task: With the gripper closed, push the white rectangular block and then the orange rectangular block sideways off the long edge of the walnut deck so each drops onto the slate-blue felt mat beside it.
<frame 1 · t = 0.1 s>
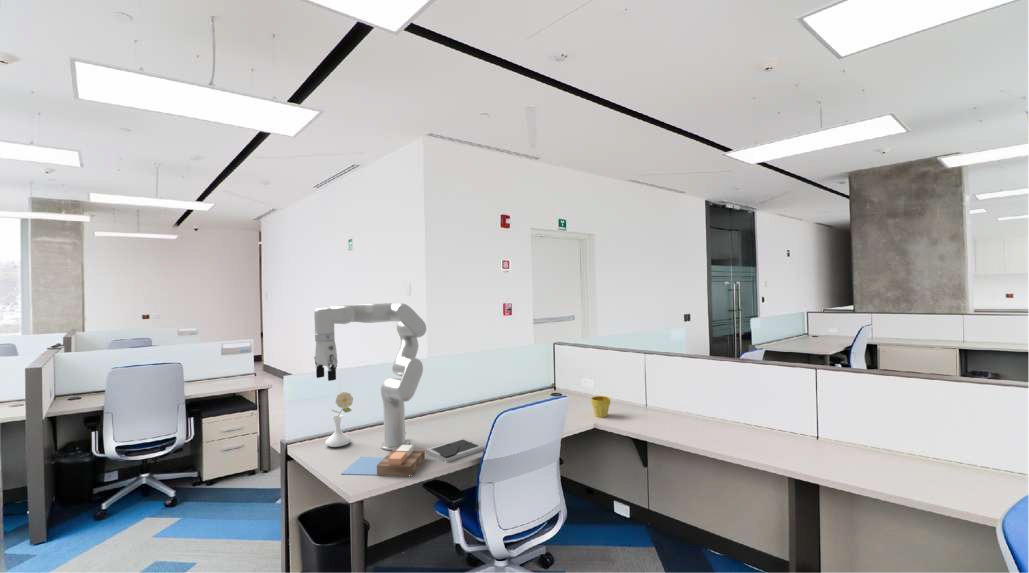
hand: (326, 378, 199), 37 cm above the table, tool pointing down, fingers open, 9 cm apart
mat: (368, 465, 201), on the table
orange rectangular block: (397, 458, 195), point 5 cm above the table, touching deck
white rectangular block: (404, 450, 203), point 5 cm above the table, touching deck
picture frame: (455, 452, 216), on the table
flower in vase: (340, 445, 228), on the table
plant pot: (600, 416, 265), on the table
deck: (401, 466, 199), on the table
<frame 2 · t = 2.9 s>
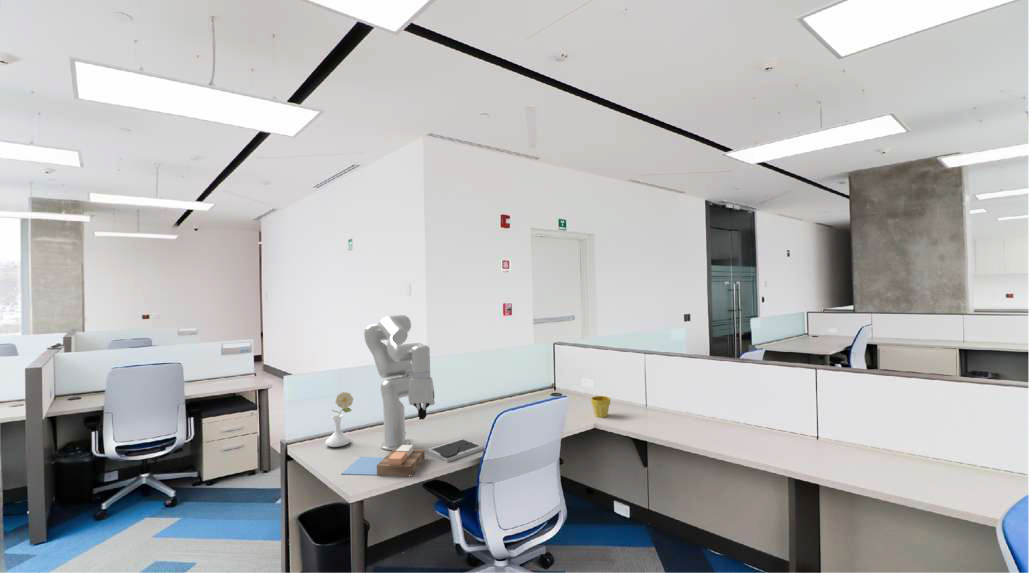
hand: (422, 418, 202), 19 cm above the table, tool pointing down, fingers closed
nothing on the table moved.
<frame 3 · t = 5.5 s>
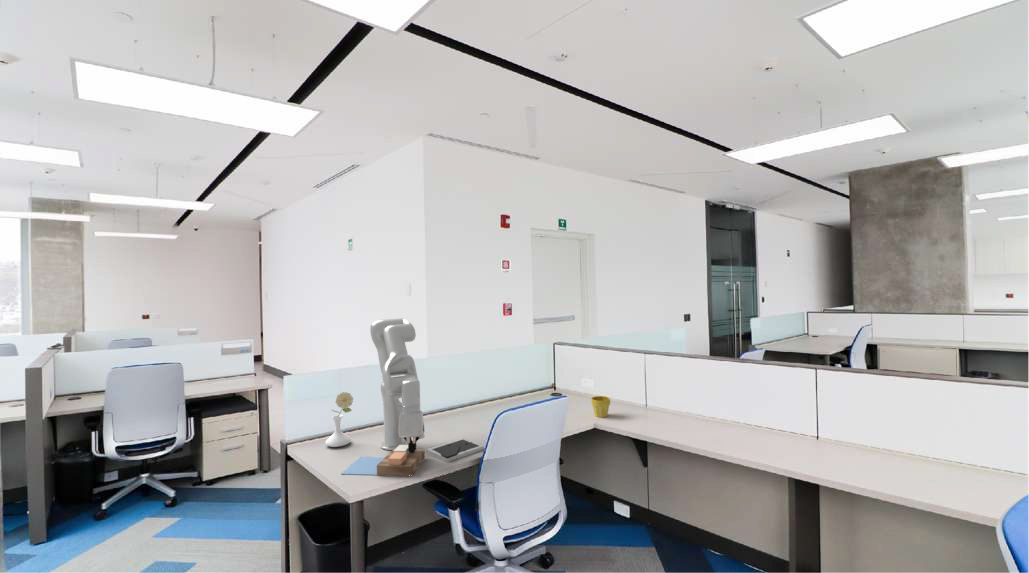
hand: (412, 451, 203), 5 cm above the table, tool pointing down, fingers closed
white rectangular block: (402, 450, 203), point 5 cm above the table, touching deck
everything else where it was.
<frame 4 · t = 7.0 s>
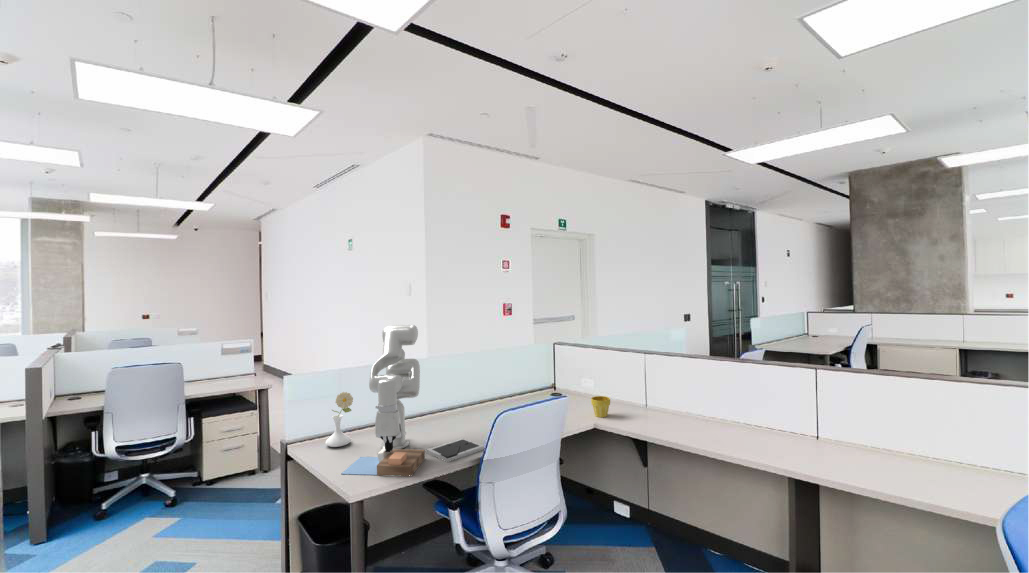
hand: (389, 450, 204), 5 cm above the table, tool pointing down, fingers closed
white rectangular block: (384, 455, 204), point 3 cm above the table, tilted 100°, touching gripper, mat
everything else where it was.
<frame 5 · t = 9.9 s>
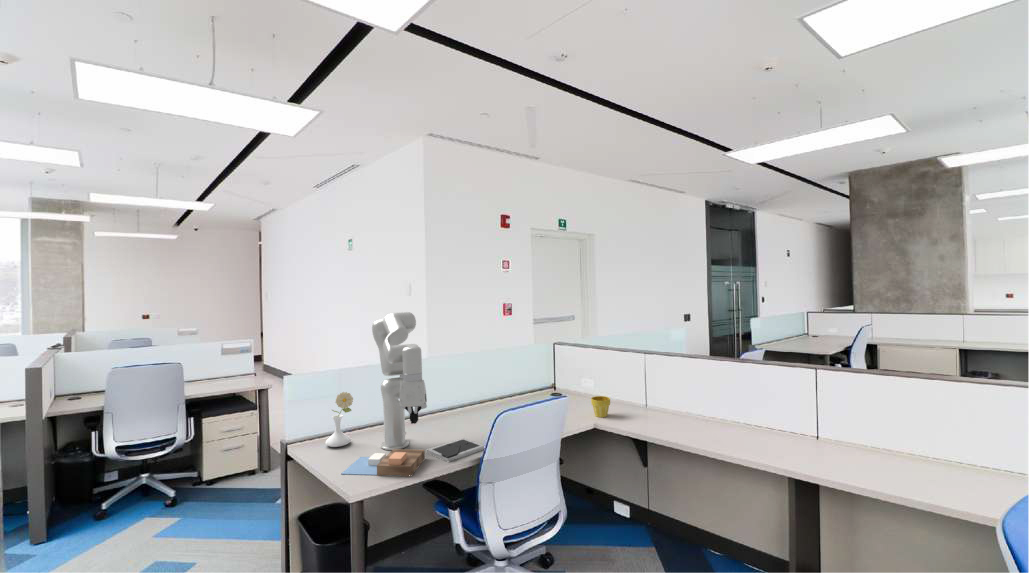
hand: (414, 422, 194), 20 cm above the table, tool pointing down, fingers closed
white rectangular block: (377, 459, 204), point 2 cm above the table, tilted 180°, touching mat
everything else where it was.
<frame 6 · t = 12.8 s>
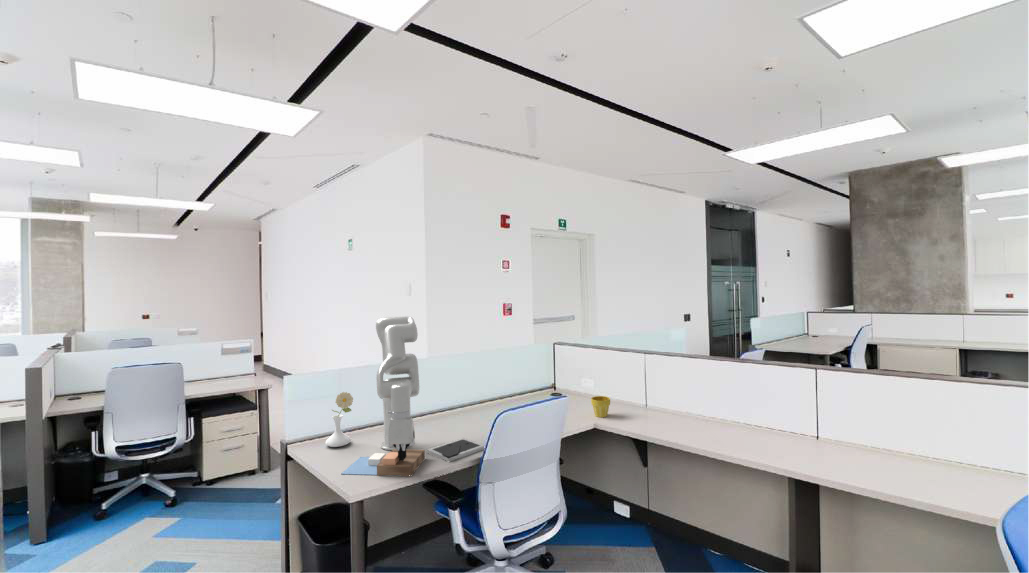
hand: (402, 459, 195), 5 cm above the table, tool pointing down, fingers closed
orange rectangular block: (391, 458, 195), point 5 cm above the table, touching gripper
everything else where it was.
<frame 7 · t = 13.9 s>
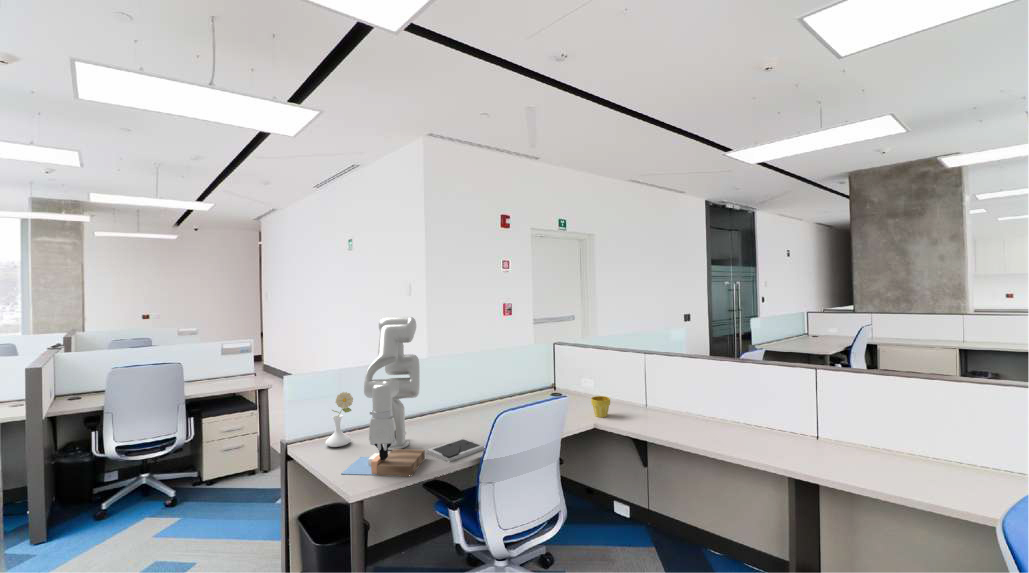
hand: (383, 458, 195), 5 cm above the table, tool pointing down, fingers closed
orange rectangular block: (377, 464, 195), point 3 cm above the table, tilted 91°, touching gripper, mat
everything else where it was.
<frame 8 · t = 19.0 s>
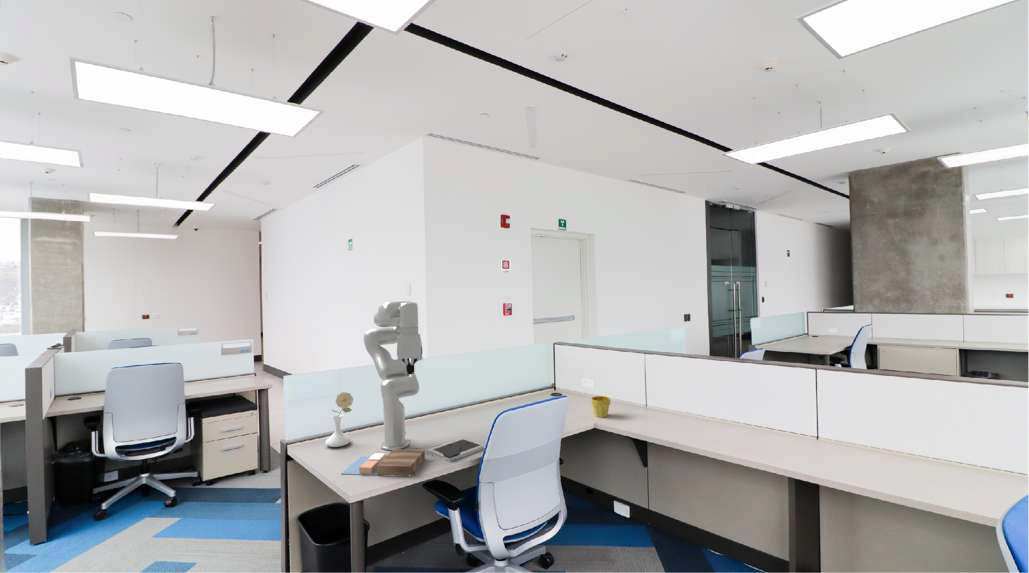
hand: (410, 373, 206), 37 cm above the table, tool pointing down, fingers closed
orange rectangular block: (369, 467, 196), point 2 cm above the table, tilted 180°, touching mat
everything else where it was.
at the end: white rectangular block inside the target area on the mat (4.3 cm from its centre), point 1.5 cm above the mat's base; orange rectangular block inside the target area on the mat (5.5 cm from its centre), point 1.5 cm above the mat's base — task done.
